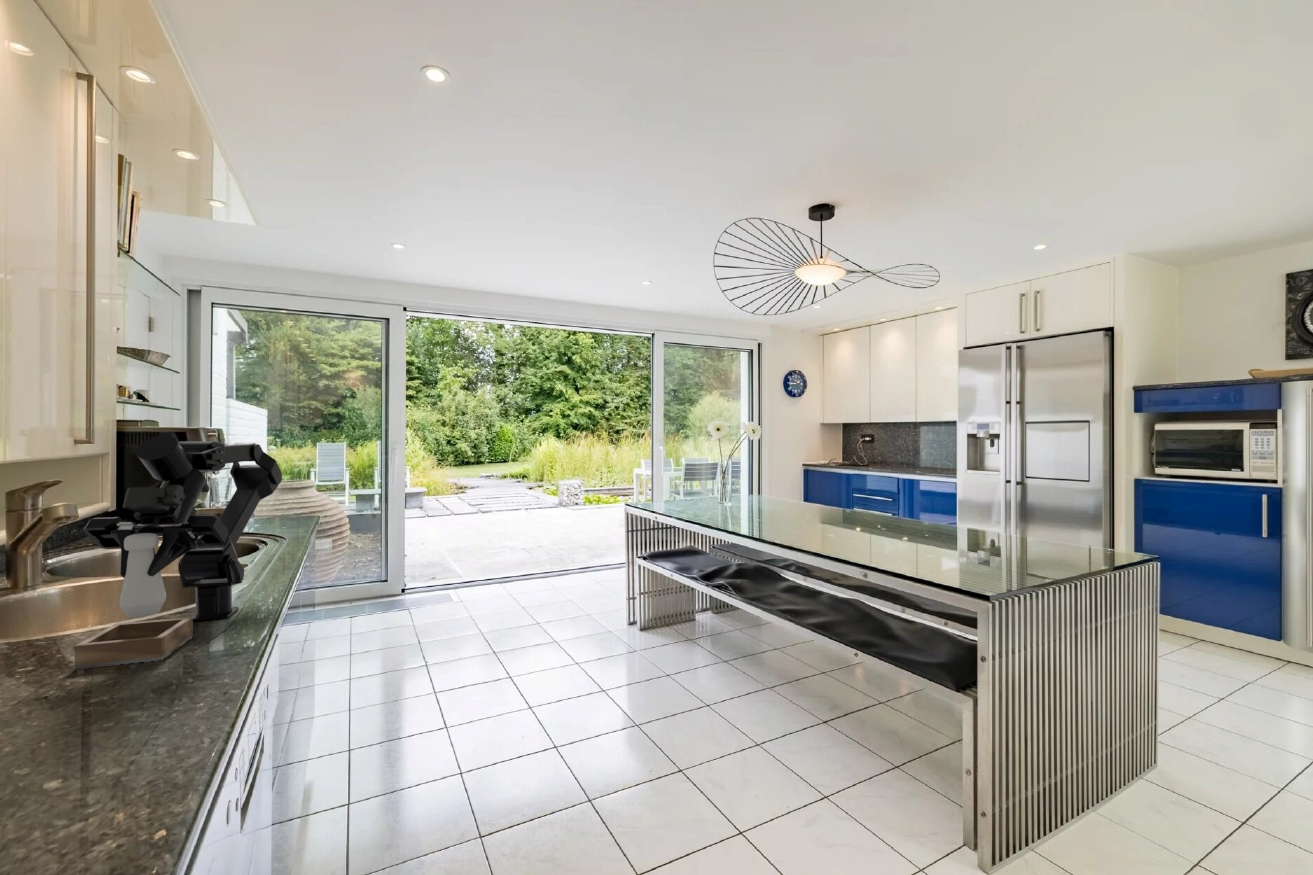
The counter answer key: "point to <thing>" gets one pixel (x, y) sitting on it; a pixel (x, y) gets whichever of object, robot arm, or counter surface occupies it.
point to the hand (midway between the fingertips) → (136, 575)
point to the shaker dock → (133, 643)
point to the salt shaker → (141, 578)
